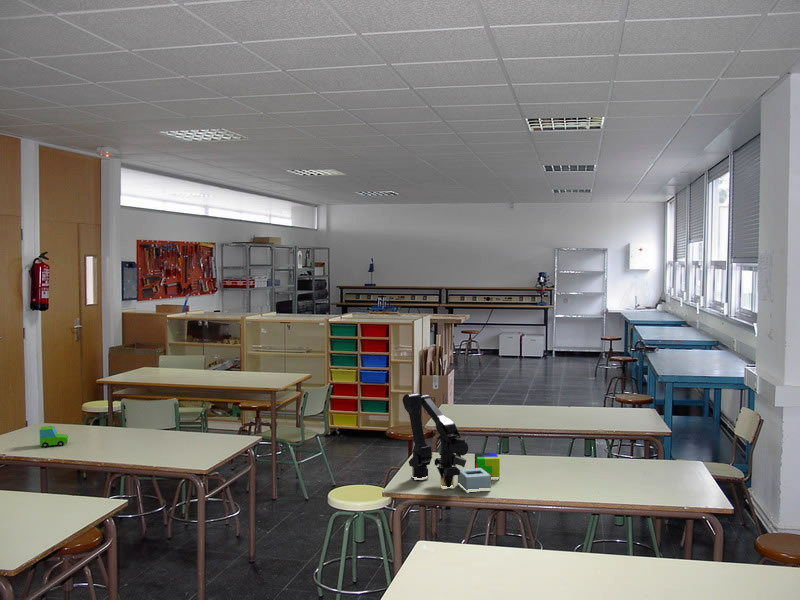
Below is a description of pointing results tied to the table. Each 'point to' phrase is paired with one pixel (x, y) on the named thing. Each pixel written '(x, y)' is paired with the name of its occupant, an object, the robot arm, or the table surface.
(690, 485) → the table surface
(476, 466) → the puzzle toy
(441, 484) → the token
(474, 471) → the money box
